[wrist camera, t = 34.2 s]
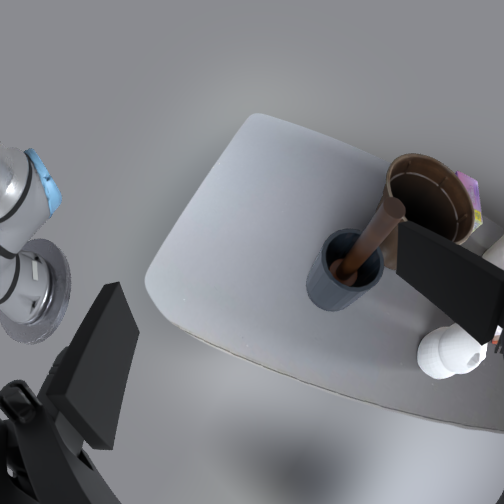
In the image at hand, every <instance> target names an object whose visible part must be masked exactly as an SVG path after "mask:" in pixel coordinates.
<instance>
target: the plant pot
mask: <svg viewBox="0 0 504 504" xmlns="http://www.w3.org/2000/svg"><path fill="white" fill-rule="evenodd" d="M388 197H395V198H397V199H399V200H400V201H401V202H402V203H403V205H404V207H405V215H404V217H403V218H402V219H401V220H400V222H405V221H412V222H414V223H416V224H418V225H420V226H422V227H424V228H426V229H428V230H430V231H432V232H434V233H436V234H438V235H440V236H442V237H444V238H446V239H448V240H450V241H452V242H454V243H456V244H458V245H460V244H462V243H464V242H465V241H466V240H467V239H468V238H469V237H470V235H471V233H472V231H473V228H474V223H475V212H474V207H473V203H472V200H471V198H470V195H469V193H468V191H467V190H466V188H465V186H464V185H463V183H462V182H461V181H460V179H459V178H458V177H457V176H456V174H455V173H454V172H453V171H452V170H450V169H449V168H448V167H447V166H445V165H444V164H443V163H441V162H440V161H438V160H436V159H434V158H432V157H429V156H426V155H421V154H414V153H411V154H405V155H402V156H400V157H398V158H396V159H395V160H394V161H393V162H392V163H391V165H390V166H389V169H388V171H387V175H386V184H385V187H384V190H383V196H382V198H381V200H380V203H379V205H378V207H377V209H376V212H377V210H378V209H379V207H380V206H381V204H382V203H383V201H384V200H385V199H386V198H388ZM376 212H375V213H376ZM374 215H375V214H374ZM400 222H399V223H400ZM397 246H398V224H397V225H396V226H395V228H394V229H393V230H392V231H391V232H390V234H389V235H388V236H387V237H386V238H385V239H384V241H383V242H382V243H381V244H380V245H379V247H380V249H381V252H382V254H383V258H384V266H385V267H387V268H389V269H392V270H396V268H397Z"/></svg>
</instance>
